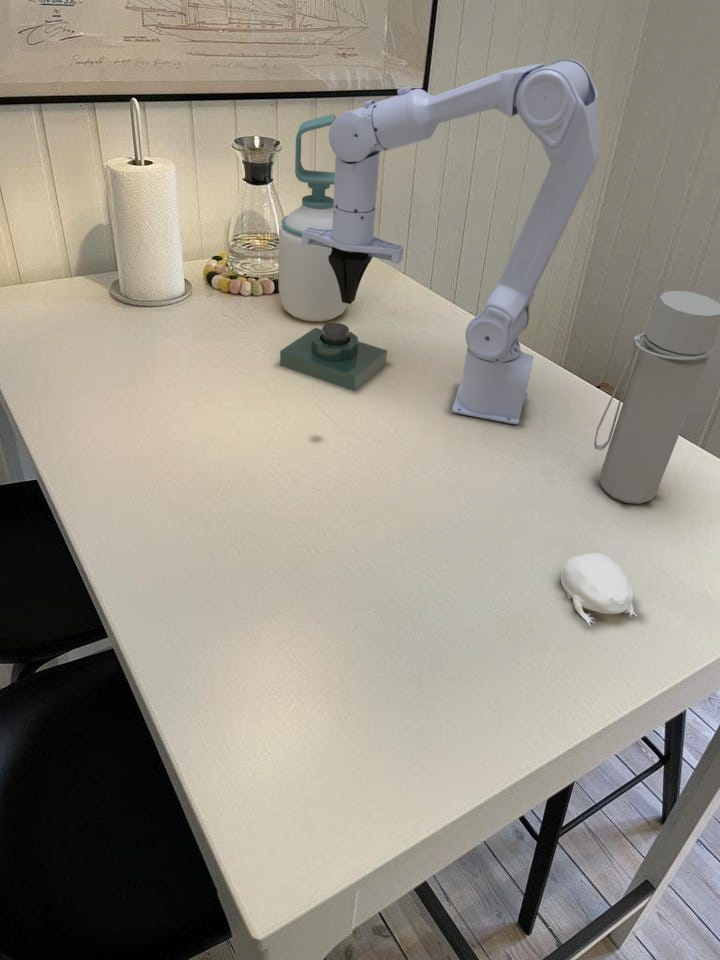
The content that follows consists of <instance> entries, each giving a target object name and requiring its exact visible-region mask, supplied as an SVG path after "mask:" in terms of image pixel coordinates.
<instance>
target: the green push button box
mask: <svg viewBox="0 0 720 960" xmlns="http://www.w3.org/2000/svg"><path fill="white" fill-rule="evenodd" d="M387 357H388V350H386V349H384V348H380V347H377V346H374V345H371V344H369V343H365V342H362V341H359V337H358V336H357V335H356V334H355V333H353V332H352V331H349V337H348V343H347V344H346V345H341V346H332V345H328V344H325V343H323V342H322V328H318V327H314V328H312V329H311V330H309V331H308V332H307V333H305V334H304V335H302V336H300V337H299V338H297V339H296V340H295V341H293V342H291V343H290V344H288V345H287V346H285V347H284V348H282V349H280V351H279V366H281V367H283V368H286V369H289V370H292V371H295V372H299V373H301V374H304V375H306V376H310V377H313V378H316V379H318V380H320V381H321V380H322V381H323V382H327V383H330V384H333V385H335V386H339V387H342V388H344V389H347V390H350V391H353V392H355V391H356V390H358V389H359V388H360V387H361V386H363V384H365V383H366V382H368V380H369V379H371V378H372V377H373V376H374V375H375V374H377V373H378V372H379V371H380V370H382V368H384V367H385V366H386V365H387Z"/></svg>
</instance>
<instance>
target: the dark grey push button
mask: <svg viewBox="0 0 720 960" xmlns="http://www.w3.org/2000/svg"><path fill="white" fill-rule="evenodd" d="M321 330H322V342H323V343H325V344H328V345H332V346H341V345H346V344H347V343H348V337H349V332H350V328H349V327H348V326H347V325H346V324H343V323H340V322H328V323H326V324H324V325H322V327H321Z"/></svg>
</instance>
